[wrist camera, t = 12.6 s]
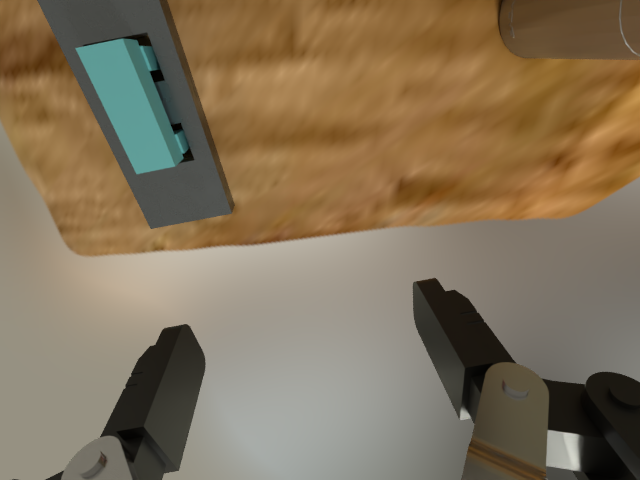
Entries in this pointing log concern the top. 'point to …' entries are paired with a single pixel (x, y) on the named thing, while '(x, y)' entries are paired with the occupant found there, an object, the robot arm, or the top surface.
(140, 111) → the teal rectangular block
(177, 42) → the grey board with holes
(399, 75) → the top surface
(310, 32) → the top surface
